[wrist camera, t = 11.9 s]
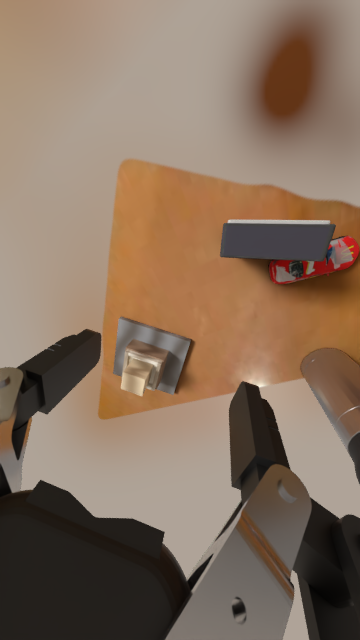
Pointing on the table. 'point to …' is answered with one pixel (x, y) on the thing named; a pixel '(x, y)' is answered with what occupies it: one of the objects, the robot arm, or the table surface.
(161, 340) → the plate
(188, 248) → the table surface
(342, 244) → the race car
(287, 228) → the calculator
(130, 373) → the maple cube
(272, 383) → the table surface
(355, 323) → the table surface
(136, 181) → the table surface
